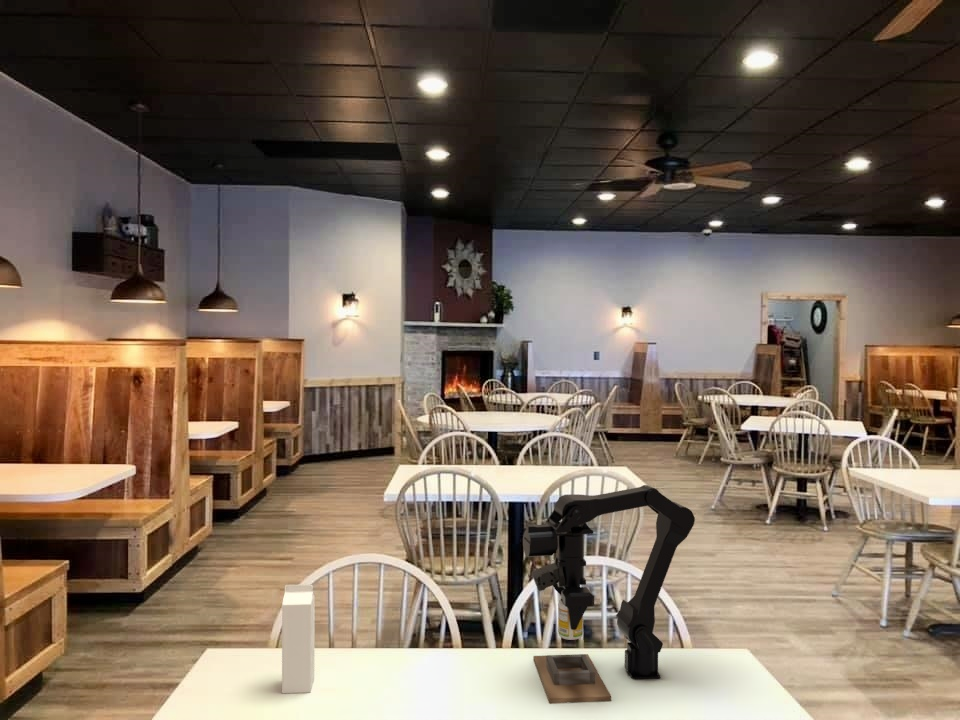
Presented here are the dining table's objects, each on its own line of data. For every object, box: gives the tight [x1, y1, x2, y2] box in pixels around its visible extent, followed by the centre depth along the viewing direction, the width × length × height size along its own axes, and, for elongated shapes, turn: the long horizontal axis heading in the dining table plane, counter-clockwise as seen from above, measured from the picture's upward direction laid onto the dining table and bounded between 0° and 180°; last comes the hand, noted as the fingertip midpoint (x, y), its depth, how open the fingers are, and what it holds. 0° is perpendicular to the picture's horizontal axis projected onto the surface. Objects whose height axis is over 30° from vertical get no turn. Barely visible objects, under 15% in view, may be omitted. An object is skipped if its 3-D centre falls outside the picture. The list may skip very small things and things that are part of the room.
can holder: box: [532, 653, 612, 704], centre depth 157 cm, size 13×20×4 cm, turn 5°
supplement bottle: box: [557, 590, 584, 641], centre depth 156 cm, size 5×5×10 cm
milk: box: [281, 584, 316, 694], centre depth 152 cm, size 6×6×22 cm
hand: (570, 624), depth 156 cm, fingers closed on supplement bottle, 5 cm apart
